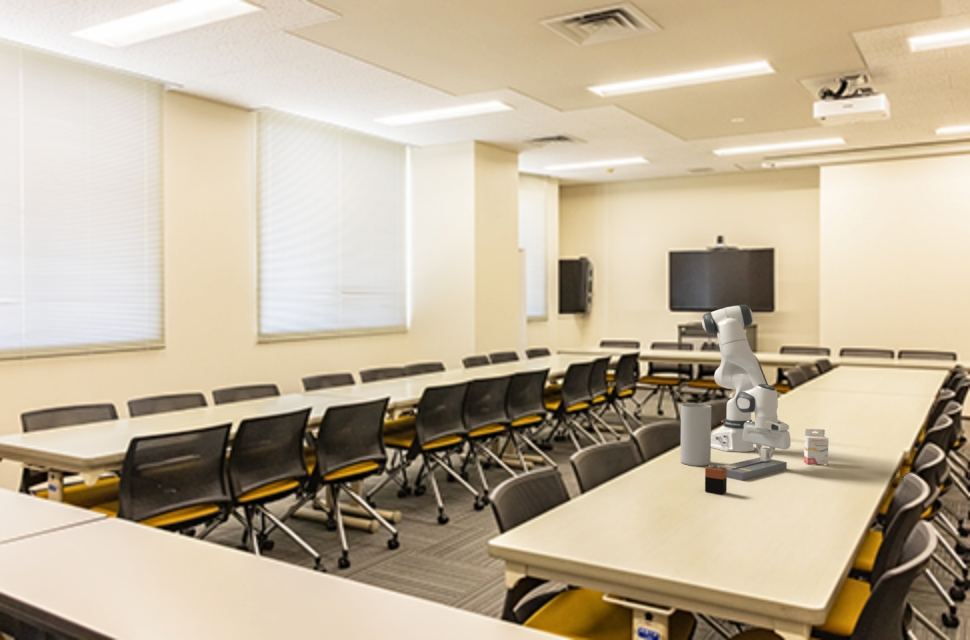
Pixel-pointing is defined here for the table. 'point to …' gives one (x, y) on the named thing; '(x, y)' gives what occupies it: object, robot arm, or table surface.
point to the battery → (715, 479)
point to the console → (753, 468)
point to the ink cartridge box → (816, 447)
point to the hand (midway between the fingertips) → (765, 456)
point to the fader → (764, 454)
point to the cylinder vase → (695, 434)
